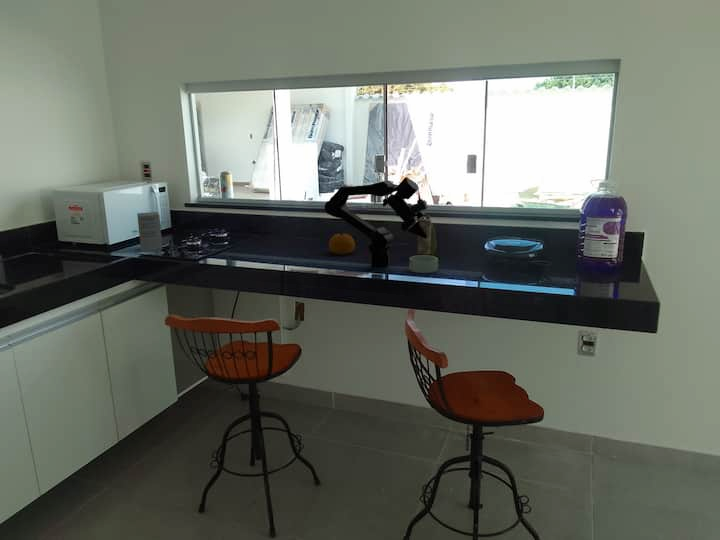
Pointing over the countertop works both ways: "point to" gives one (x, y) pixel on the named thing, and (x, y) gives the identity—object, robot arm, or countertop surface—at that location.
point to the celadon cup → (423, 264)
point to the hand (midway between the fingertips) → (427, 236)
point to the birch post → (422, 242)
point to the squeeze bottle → (432, 239)
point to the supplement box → (149, 231)
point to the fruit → (341, 244)
